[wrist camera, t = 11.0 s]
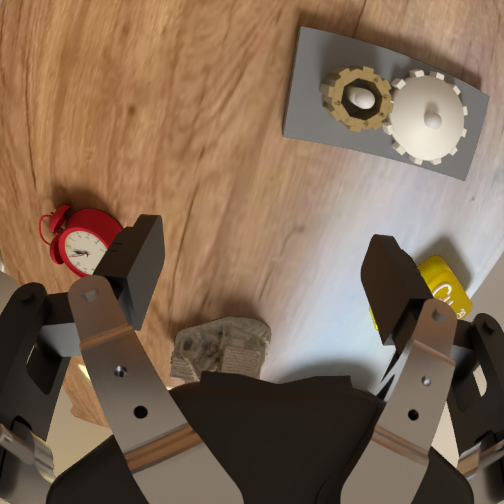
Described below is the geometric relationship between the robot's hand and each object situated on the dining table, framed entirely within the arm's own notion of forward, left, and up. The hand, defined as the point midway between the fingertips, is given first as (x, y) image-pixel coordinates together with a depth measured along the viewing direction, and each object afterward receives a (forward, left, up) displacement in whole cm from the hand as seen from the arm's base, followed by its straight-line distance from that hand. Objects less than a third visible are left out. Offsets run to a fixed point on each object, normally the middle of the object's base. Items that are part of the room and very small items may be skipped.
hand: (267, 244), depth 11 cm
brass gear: (-5, +8, -22) cm, 24 cm away
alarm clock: (+18, -23, -24) cm, 37 cm away
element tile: (+23, +31, -24) cm, 45 cm away
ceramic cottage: (+37, -2, -24) cm, 44 cm away
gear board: (-5, +14, -24) cm, 28 cm away
